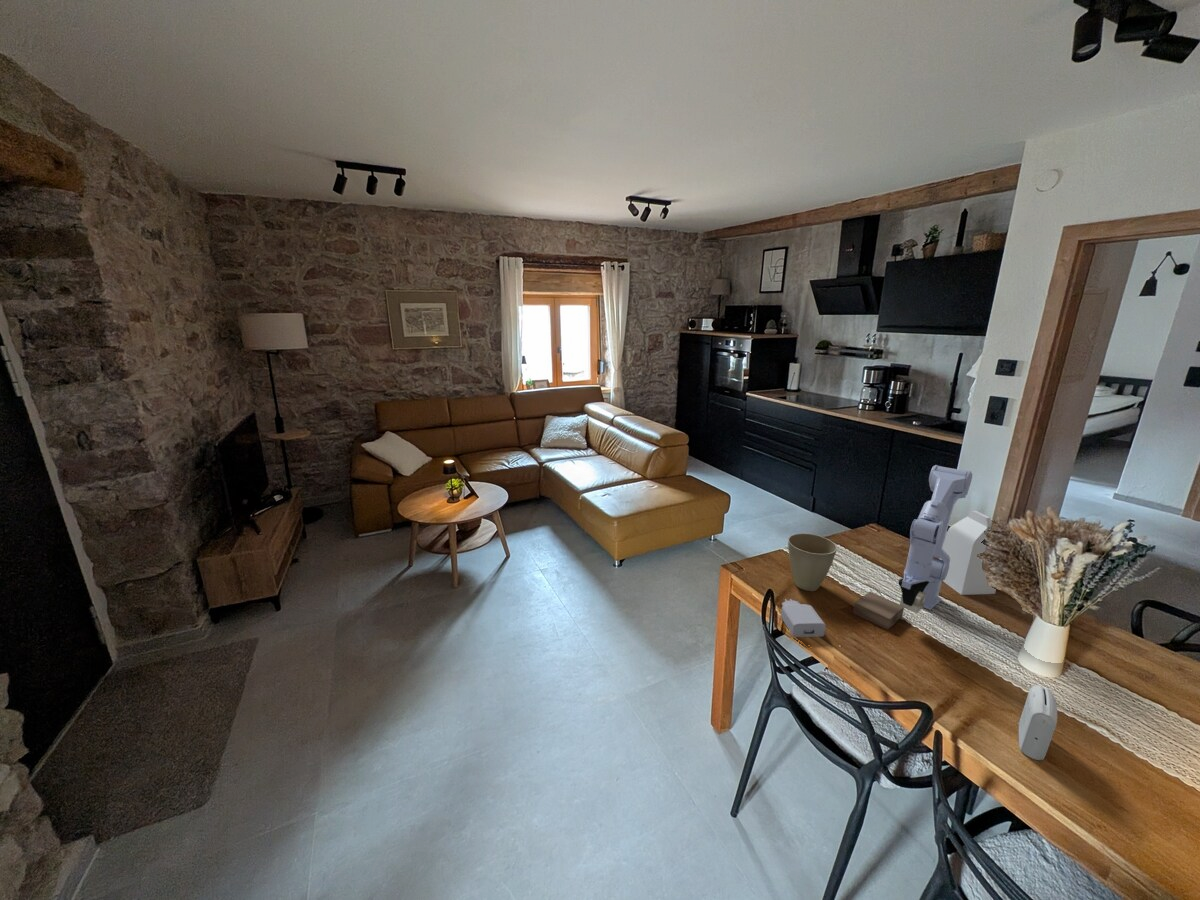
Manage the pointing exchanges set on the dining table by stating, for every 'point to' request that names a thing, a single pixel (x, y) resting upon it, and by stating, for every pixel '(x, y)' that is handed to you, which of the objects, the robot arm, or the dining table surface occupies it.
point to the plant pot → (810, 559)
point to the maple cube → (915, 603)
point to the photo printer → (1037, 722)
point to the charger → (802, 620)
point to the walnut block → (878, 610)
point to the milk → (967, 555)
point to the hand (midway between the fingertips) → (911, 601)
